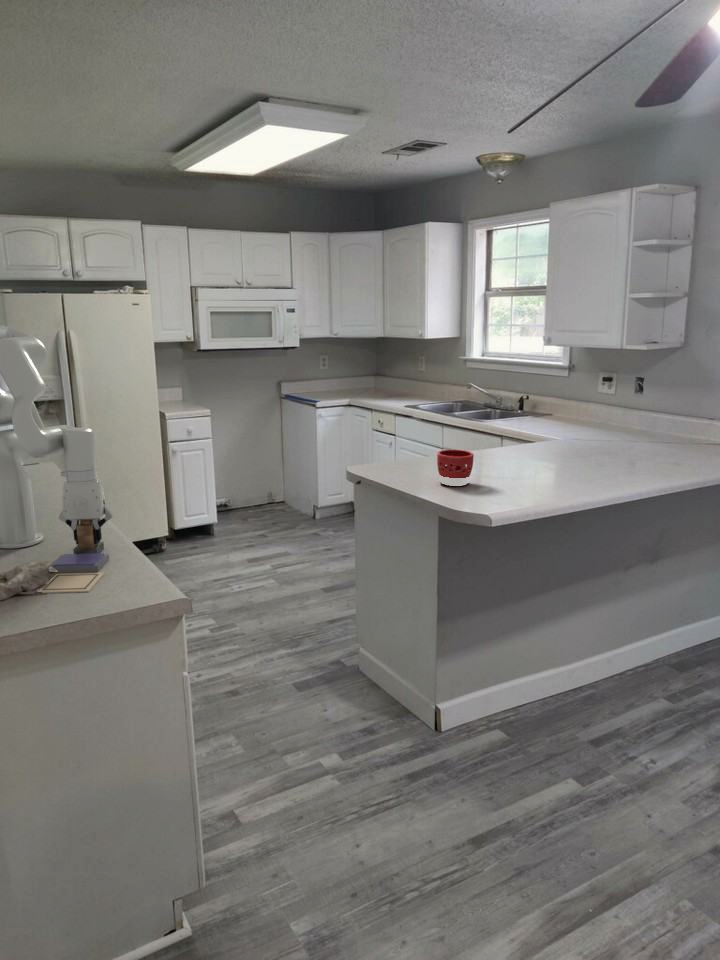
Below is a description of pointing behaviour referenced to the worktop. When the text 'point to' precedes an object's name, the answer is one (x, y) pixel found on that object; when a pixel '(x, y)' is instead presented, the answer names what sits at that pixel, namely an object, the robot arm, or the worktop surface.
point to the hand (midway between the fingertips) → (88, 542)
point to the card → (72, 582)
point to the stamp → (87, 539)
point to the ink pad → (80, 562)
